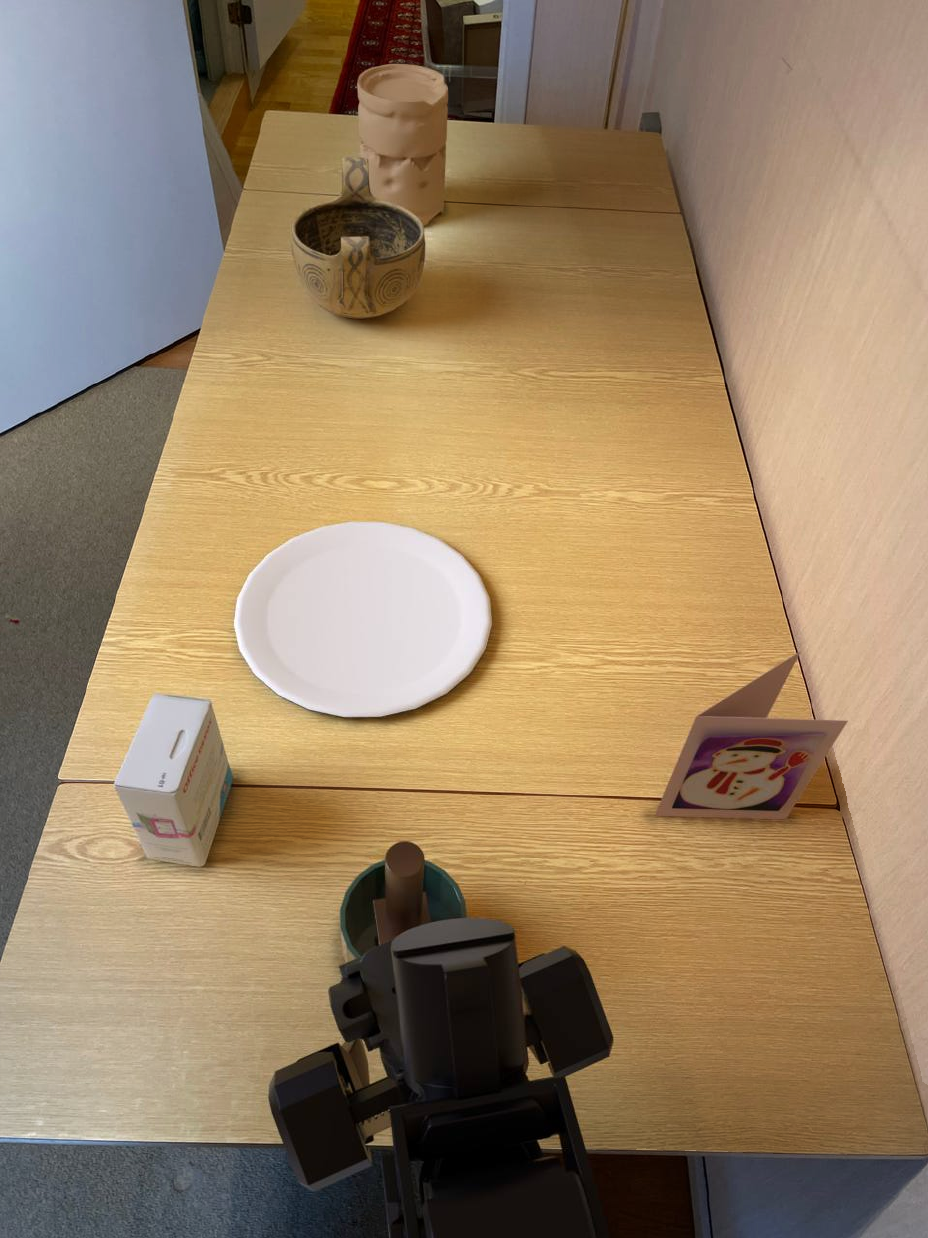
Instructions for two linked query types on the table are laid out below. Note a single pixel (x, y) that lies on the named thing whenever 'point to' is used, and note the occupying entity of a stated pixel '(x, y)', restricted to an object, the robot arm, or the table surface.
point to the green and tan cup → (371, 886)
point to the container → (405, 136)
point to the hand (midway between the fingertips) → (425, 1009)
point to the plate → (363, 619)
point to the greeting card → (748, 756)
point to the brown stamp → (402, 893)
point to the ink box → (175, 779)
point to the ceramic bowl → (358, 249)
